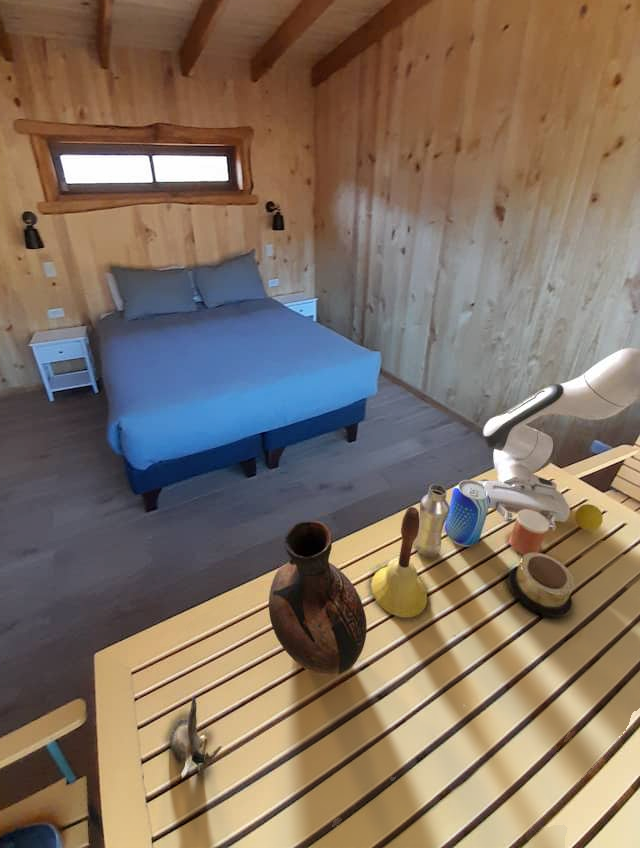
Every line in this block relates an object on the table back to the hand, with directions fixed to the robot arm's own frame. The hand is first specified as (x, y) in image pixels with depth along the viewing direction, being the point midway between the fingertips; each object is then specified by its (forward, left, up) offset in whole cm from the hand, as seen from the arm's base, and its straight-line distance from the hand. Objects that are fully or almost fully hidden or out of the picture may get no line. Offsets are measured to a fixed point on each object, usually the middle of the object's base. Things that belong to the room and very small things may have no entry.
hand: (529, 524), depth 99 cm
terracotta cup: (0, +1, -6) cm, 7 cm away
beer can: (+15, +2, -7) cm, 16 cm away
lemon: (-16, -9, -7) cm, 20 cm away
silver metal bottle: (+24, +9, -7) cm, 26 cm away
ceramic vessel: (+46, +38, -7) cm, 60 cm away
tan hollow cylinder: (0, +14, -6) cm, 15 cm away
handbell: (+30, +22, -7) cm, 38 cm away
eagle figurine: (+62, +60, -7) cm, 86 cm away
